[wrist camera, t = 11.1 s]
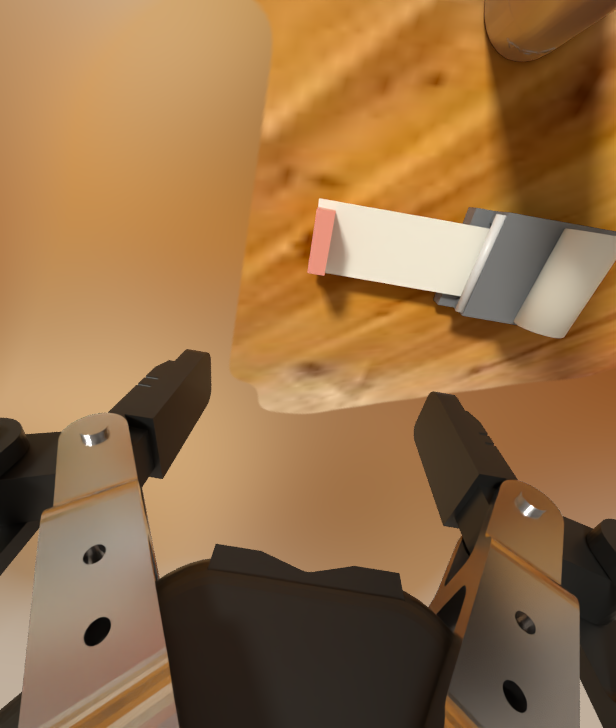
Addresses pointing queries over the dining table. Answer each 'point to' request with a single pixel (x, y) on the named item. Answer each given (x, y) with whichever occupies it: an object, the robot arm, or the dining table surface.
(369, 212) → the pink-tipped cream block
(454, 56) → the dining table surface
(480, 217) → the dispenser
